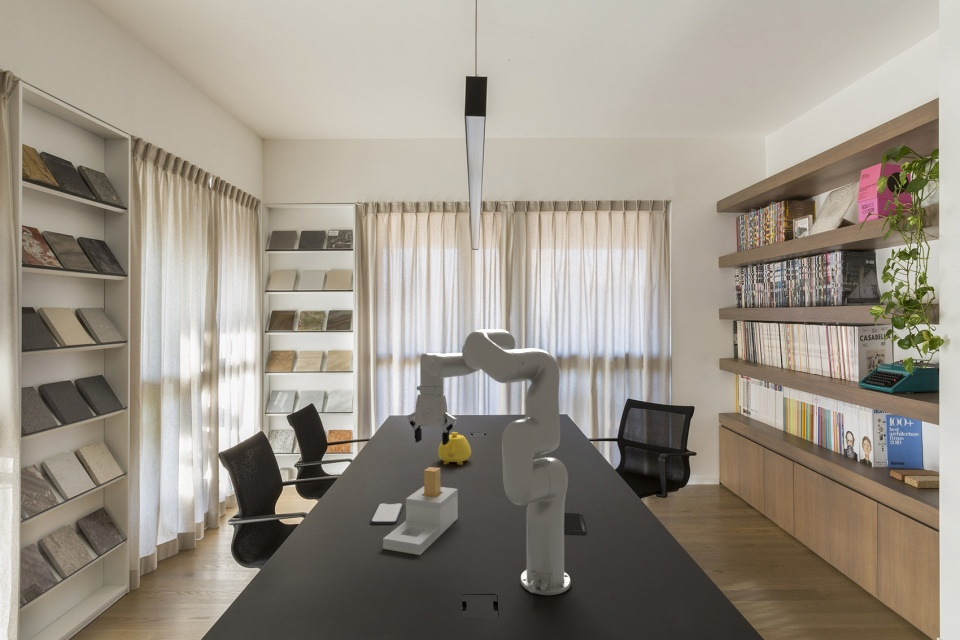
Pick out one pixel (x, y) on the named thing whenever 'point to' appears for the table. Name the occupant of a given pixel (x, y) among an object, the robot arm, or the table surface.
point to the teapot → (455, 449)
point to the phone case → (387, 514)
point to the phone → (574, 524)
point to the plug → (432, 482)
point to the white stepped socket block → (423, 521)
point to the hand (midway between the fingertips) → (431, 442)
